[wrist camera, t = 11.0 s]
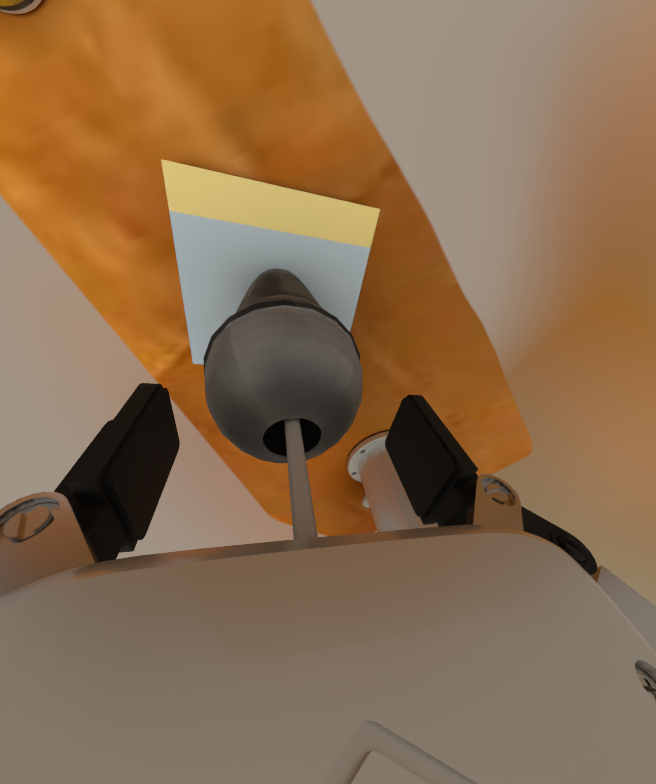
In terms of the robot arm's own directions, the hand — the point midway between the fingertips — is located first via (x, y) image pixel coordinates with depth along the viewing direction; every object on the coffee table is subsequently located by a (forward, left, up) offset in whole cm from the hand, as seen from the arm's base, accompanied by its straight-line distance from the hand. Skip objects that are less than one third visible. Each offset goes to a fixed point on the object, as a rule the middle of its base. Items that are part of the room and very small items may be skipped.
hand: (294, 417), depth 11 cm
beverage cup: (0, 0, -14) cm, 14 cm away
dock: (+1, 0, -17) cm, 17 cm away
